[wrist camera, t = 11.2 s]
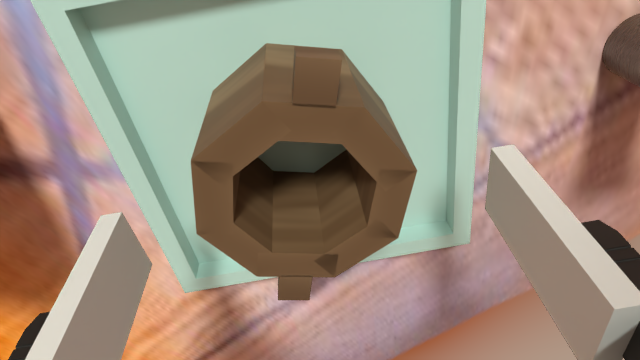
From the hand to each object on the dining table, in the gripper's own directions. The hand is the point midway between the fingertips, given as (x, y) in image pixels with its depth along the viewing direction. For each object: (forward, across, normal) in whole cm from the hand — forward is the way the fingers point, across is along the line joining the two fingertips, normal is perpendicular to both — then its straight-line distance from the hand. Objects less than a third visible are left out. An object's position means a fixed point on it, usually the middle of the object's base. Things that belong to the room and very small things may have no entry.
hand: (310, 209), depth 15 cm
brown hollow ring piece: (+6, 0, 0) cm, 7 cm away
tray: (+7, 0, 0) cm, 8 cm away
